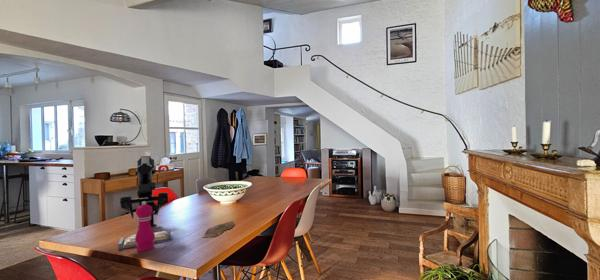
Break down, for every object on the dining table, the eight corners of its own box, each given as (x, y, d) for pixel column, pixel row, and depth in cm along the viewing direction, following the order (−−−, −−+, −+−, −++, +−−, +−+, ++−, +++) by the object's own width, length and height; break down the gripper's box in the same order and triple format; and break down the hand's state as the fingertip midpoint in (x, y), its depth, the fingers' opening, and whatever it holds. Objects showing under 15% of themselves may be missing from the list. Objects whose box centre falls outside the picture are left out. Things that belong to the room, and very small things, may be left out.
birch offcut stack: (125, 240, 121) (125, 235, 121) (166, 233, 129) (166, 228, 129) (123, 246, 114) (123, 240, 114) (166, 238, 122) (166, 233, 122)
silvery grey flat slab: (121, 243, 121) (120, 237, 121) (170, 234, 130) (170, 229, 130) (118, 249, 113) (118, 244, 113) (171, 240, 122) (170, 234, 122)
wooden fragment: (213, 239, 122) (213, 237, 122) (193, 237, 126) (193, 235, 126) (243, 222, 146) (243, 220, 146) (226, 221, 150) (225, 219, 150)
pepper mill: (146, 252, 109) (144, 203, 109) (131, 251, 111) (129, 203, 111) (159, 245, 117) (157, 199, 116) (144, 244, 118) (143, 199, 118)
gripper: (119, 178, 118) (117, 209, 108) (167, 175, 127) (168, 202, 117) (122, 193, 125) (120, 223, 115) (167, 189, 134) (168, 216, 124)
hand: (145, 216), depth 118 cm, fingers open, 9 cm apart
